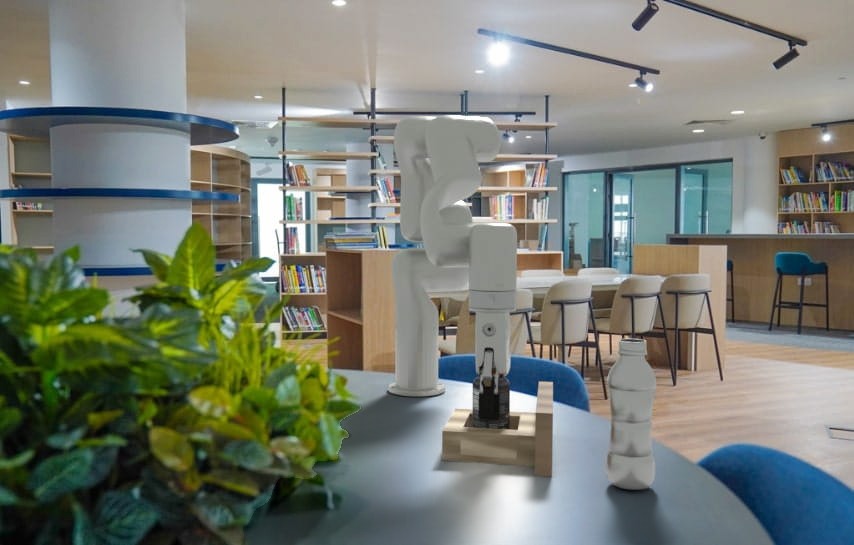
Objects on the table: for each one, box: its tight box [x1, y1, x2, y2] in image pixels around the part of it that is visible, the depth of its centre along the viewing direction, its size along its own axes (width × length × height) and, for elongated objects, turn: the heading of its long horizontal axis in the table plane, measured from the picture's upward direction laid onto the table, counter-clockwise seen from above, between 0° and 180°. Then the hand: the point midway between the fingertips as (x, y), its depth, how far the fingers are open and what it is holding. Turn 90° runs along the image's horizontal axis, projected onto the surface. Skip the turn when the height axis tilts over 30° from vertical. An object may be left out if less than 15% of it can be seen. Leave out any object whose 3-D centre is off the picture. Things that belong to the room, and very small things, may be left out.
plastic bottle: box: [605, 338, 657, 491], centre depth 92 cm, size 6×7×20 cm
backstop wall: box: [534, 381, 554, 477], centre depth 107 cm, size 22×2×9 cm, turn 169°
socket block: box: [441, 408, 536, 467], centre depth 108 cm, size 14×14×4 cm
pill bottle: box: [472, 366, 511, 430], centre depth 108 cm, size 6×6×11 cm
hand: (490, 412), depth 108 cm, fingers closed on pill bottle, 6 cm apart
